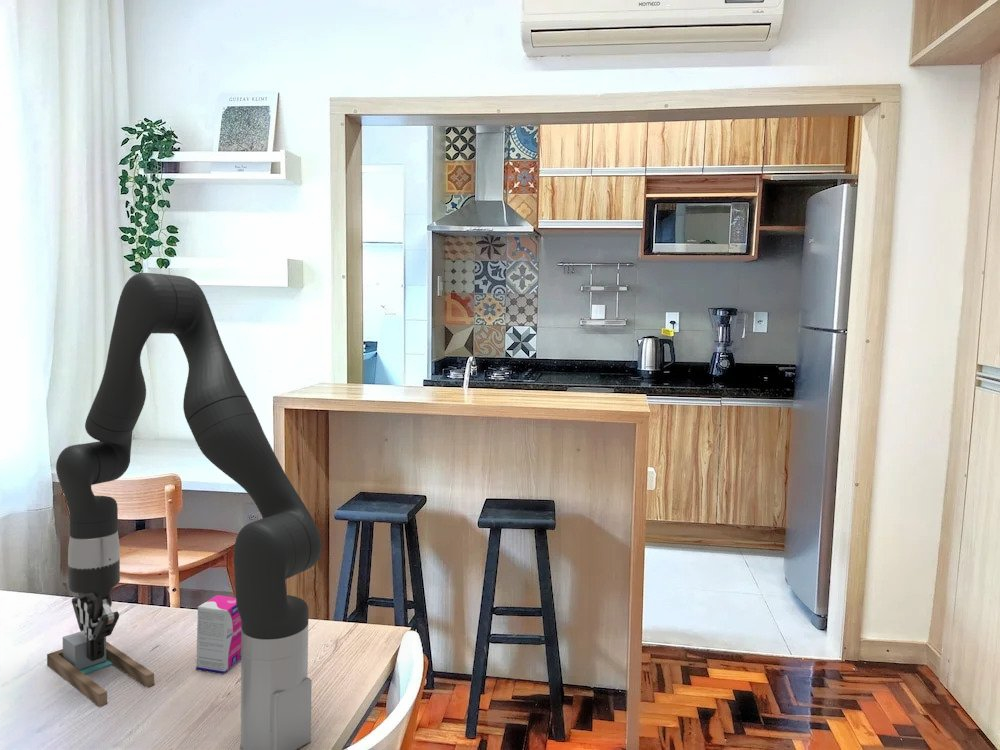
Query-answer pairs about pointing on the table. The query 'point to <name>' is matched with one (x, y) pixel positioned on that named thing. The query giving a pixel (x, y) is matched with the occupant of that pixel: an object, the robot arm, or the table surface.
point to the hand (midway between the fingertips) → (95, 658)
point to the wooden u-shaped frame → (84, 682)
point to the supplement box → (218, 635)
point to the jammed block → (79, 651)
